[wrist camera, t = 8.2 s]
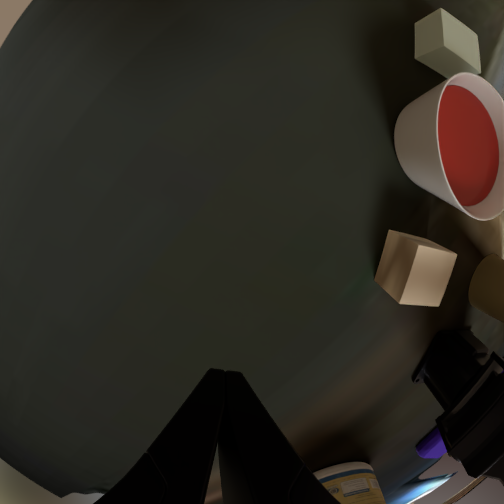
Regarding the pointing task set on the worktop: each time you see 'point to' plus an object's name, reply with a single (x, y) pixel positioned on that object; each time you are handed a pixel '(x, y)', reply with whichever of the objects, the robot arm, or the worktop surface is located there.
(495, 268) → the cork
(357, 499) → the supplement tub
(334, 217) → the worktop surface
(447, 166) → the candle
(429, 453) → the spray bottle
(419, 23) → the sage block
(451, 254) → the birch block
